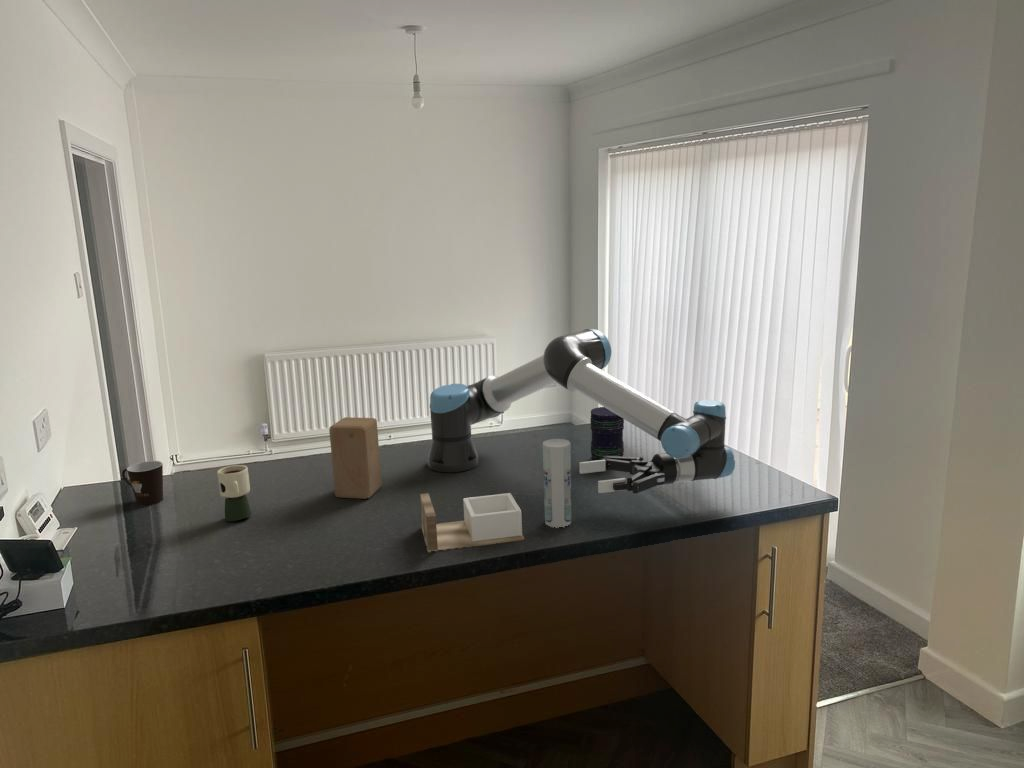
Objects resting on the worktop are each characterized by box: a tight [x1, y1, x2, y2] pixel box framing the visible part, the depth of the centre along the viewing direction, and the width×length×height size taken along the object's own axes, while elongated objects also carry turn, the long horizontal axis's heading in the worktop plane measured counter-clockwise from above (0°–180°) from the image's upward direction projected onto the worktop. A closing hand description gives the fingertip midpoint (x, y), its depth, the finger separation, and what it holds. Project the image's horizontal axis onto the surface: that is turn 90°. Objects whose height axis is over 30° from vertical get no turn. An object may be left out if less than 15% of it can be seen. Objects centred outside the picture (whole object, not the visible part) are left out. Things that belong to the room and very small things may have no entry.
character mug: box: [216, 464, 252, 522], centre depth 183 cm, size 11×7×13 cm, turn 26°
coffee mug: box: [121, 460, 164, 506], centre depth 198 cm, size 12×9×10 cm
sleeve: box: [462, 492, 523, 542], centre depth 171 cm, size 12×12×6 cm
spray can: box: [542, 438, 572, 529], centre depth 173 cm, size 6×6×20 cm
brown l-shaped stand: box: [419, 492, 525, 553], centre depth 170 cm, size 14×22×8 cm, turn 103°
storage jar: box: [590, 406, 625, 461], centre depth 217 cm, size 10×10×15 cm
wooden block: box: [329, 416, 383, 500], centre depth 197 cm, size 10×10×20 cm
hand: (588, 477), depth 174 cm, fingers open, 13 cm apart
